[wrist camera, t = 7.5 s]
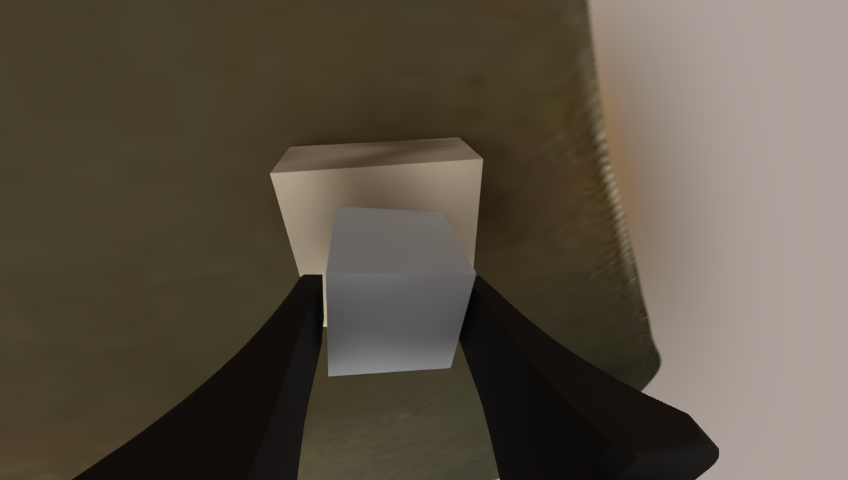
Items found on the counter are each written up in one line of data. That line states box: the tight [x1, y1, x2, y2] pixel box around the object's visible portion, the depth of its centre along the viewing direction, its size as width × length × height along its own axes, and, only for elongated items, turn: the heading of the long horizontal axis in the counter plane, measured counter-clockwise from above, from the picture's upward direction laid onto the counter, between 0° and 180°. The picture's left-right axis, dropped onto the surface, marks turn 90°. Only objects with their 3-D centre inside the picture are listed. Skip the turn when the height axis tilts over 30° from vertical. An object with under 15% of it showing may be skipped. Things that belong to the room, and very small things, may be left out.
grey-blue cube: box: [326, 206, 476, 376], centre depth 12 cm, size 4×4×4 cm
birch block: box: [270, 137, 483, 327], centre depth 15 cm, size 8×8×4 cm
